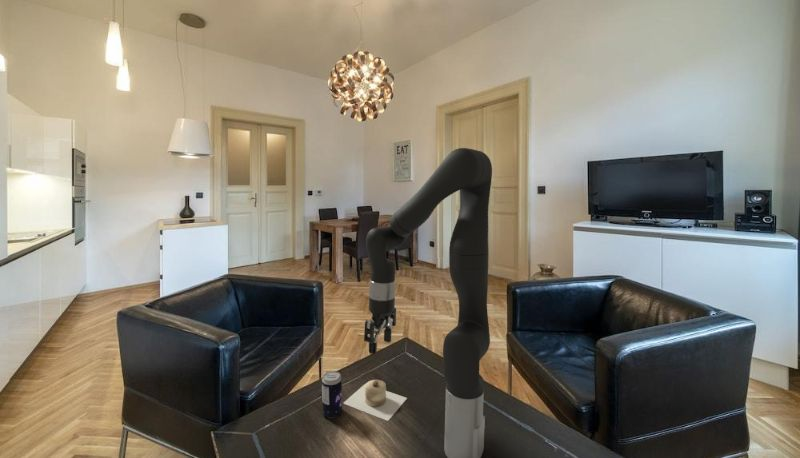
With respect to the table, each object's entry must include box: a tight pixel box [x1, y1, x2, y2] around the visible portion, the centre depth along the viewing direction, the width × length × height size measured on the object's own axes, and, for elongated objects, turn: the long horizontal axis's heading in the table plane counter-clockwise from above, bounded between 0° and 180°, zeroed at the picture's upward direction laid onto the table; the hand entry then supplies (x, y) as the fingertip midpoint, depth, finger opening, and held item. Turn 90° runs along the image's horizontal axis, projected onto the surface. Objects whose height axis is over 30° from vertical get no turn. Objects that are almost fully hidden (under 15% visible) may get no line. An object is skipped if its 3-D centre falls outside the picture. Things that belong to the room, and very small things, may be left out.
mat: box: [342, 383, 408, 422], centre depth 104 cm, size 16×12×1 cm
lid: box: [365, 379, 387, 407], centre depth 104 cm, size 6×6×6 cm
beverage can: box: [321, 371, 343, 419], centre depth 98 cm, size 6×6×12 cm
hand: (380, 347), depth 99 cm, fingers open, 8 cm apart
